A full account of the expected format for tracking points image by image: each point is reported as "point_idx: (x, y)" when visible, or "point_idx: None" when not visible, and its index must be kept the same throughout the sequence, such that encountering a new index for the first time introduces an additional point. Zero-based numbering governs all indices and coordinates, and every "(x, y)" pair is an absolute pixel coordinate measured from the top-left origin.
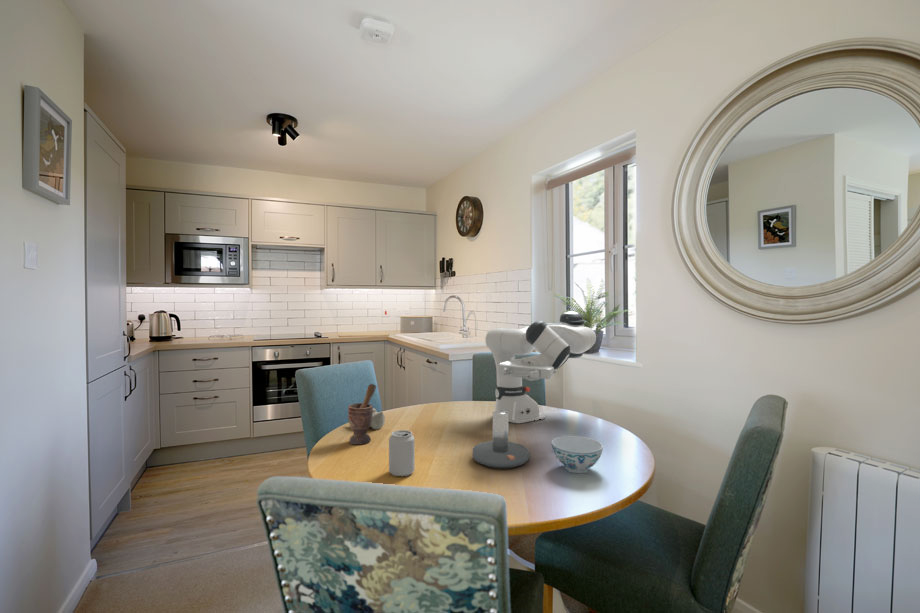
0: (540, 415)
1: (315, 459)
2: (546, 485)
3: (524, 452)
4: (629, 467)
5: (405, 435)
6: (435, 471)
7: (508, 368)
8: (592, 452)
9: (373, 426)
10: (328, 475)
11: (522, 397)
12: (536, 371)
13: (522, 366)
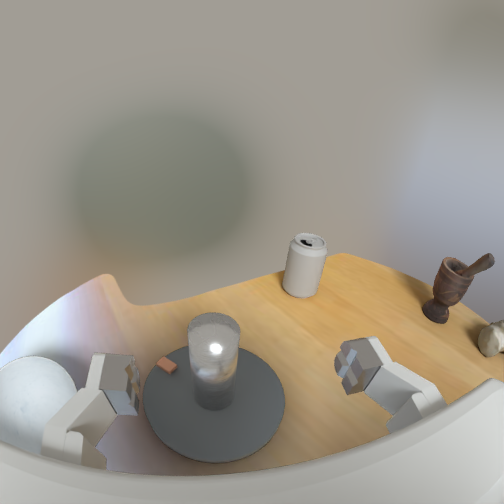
0: None
1: (391, 268)
2: (91, 349)
3: (155, 409)
4: None
5: (322, 257)
6: (270, 311)
7: (413, 410)
8: (3, 367)
9: (478, 338)
10: (341, 257)
11: None
12: (62, 407)
13: (298, 483)
